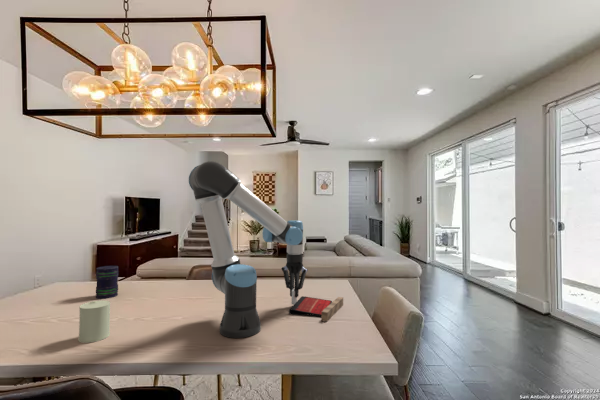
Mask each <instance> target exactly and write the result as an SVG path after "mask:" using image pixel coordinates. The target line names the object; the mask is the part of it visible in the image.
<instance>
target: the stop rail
mask: <svg viewBox="0 0 600 400" xmlns="http://www.w3.org/2000/svg"><path fill="white" fill-rule="evenodd" d="M343 306H344V297H341V296H337V297H336V298H335V299H334V300H332V303H331V304H330V305H329V306H327V307H326V308H325V309H324V310H323V311H322V316H321V321H322V322H323V321H324V322H328V321H329V320H330V319H331V318H332V317H333V316H334V315H335V314H336V313H337V312H338V311H339V310H340V309H341V308H342V307H343Z"/></svg>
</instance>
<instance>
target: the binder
mask: <svg viewBox="0 0 600 400" xmlns="http://www.w3.org/2000/svg"><path fill="white" fill-rule="evenodd" d="M332 302H333V300H330V299H323V298H317V297H310V296H300V298H299V299H297V302H296V303H295V304H294V305H293V304H292V306H291V307H290V308H289V311H288V312H289V313H288V314H289V315H301V316H315V317H322V311H323V310H324V309H325V308H326V307H327V306H329V305H330V304H331V303H332Z"/></svg>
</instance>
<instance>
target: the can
mask: <svg viewBox="0 0 600 400" xmlns="http://www.w3.org/2000/svg"><path fill="white" fill-rule="evenodd" d="M110 313H111V301H109V300H95V301H93V300H92V301H88V302H86V303H82V304H80V306H79V319H78V320H79V322H78V323H79V325H78V330H79V332H78V342H79V343H82V344H86V343H87V344H88V343H89V344H90V343H95V342H99V341H102V340H104V339H105V340H106V339H107V338H108V337H109V336H110V334H111V332H110V331H111V330H110V325H111V324H110V323H111V322H110V317H111V314H110Z"/></svg>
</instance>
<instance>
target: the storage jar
mask: <svg viewBox="0 0 600 400" xmlns="http://www.w3.org/2000/svg"><path fill="white" fill-rule="evenodd" d="M119 272H120V271H119V266H118V265H103V266H98V267H96V273H95V274H96V275H95V276H96V277H95V278H96V286H95V295H96V296H95V299H98V300H106V299H111V298H112V299H113V298H116V297H117V296H118V295H119V293H118V292H119V284H118V283H119V282H118V280H119V279H118V278H119Z"/></svg>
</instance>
